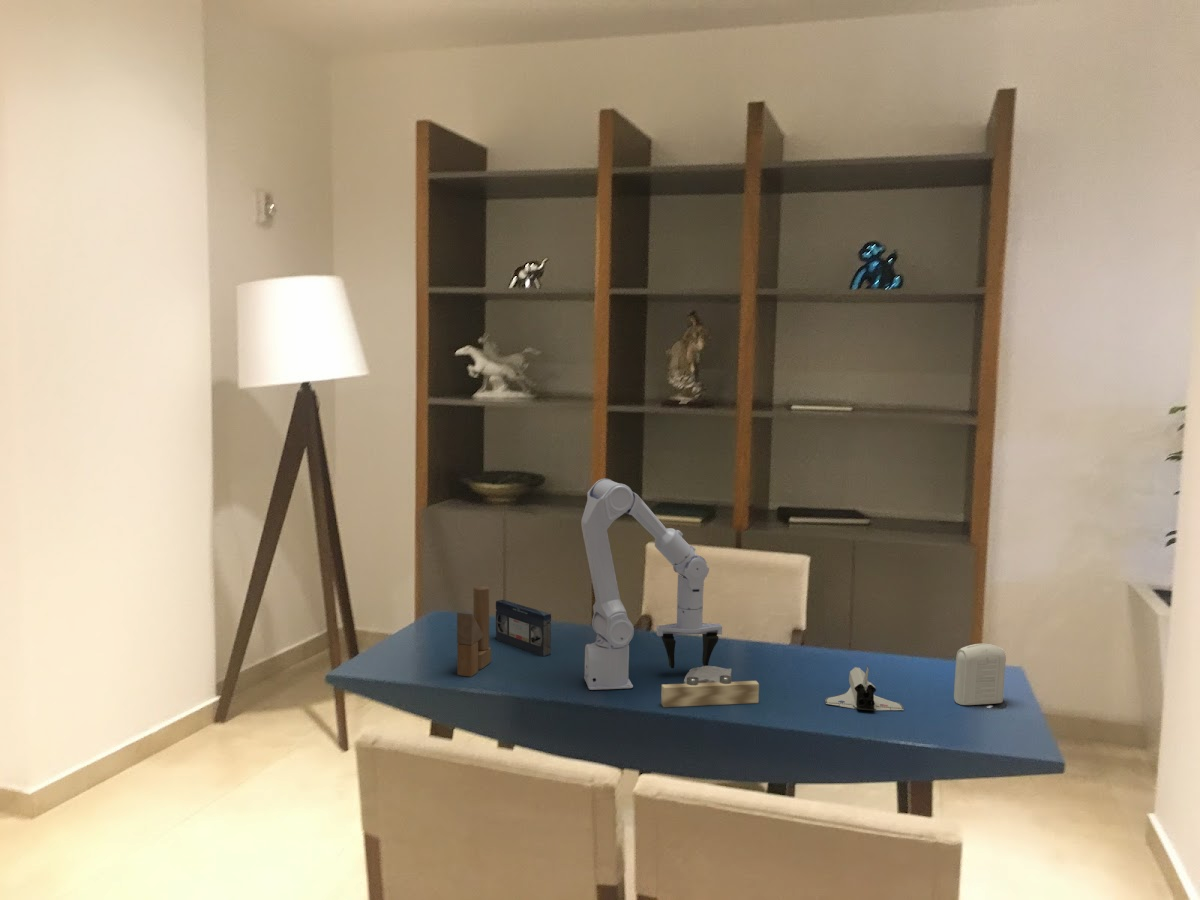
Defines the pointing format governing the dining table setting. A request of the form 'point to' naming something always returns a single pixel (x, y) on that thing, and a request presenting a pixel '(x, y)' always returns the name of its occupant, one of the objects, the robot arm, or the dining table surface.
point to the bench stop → (709, 692)
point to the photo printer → (979, 675)
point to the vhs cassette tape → (523, 627)
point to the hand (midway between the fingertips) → (688, 666)
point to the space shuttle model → (862, 695)
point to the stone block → (707, 674)
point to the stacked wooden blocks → (474, 635)
